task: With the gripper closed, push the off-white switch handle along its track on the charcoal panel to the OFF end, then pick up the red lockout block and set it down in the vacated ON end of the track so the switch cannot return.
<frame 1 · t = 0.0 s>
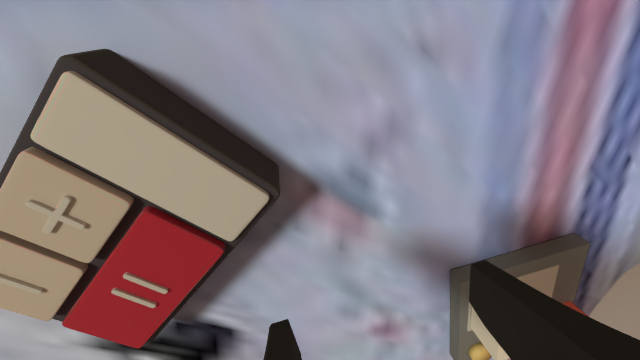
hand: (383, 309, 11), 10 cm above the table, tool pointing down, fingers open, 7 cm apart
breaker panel: (507, 297, 29), on the table
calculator: (139, 204, 19), on the table
switch handle: (495, 325, 25), point 3 cm above the table, slide at 0.0 cm
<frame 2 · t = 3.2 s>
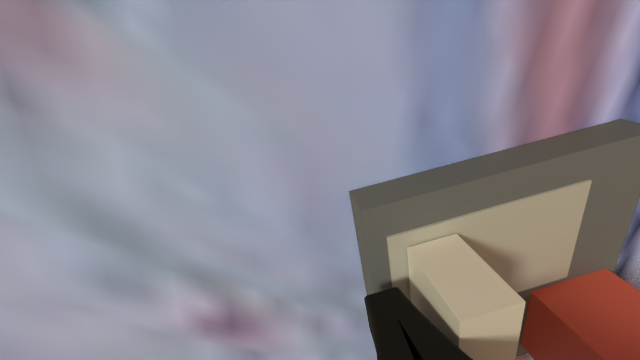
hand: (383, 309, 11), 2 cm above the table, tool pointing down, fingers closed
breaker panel: (481, 263, 15), on the table
lockout block: (561, 308, 15), point 1 cm above the table, touching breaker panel
switch handle: (456, 311, 11), point 3 cm above the table, slide at 0.5 cm, touching gripper
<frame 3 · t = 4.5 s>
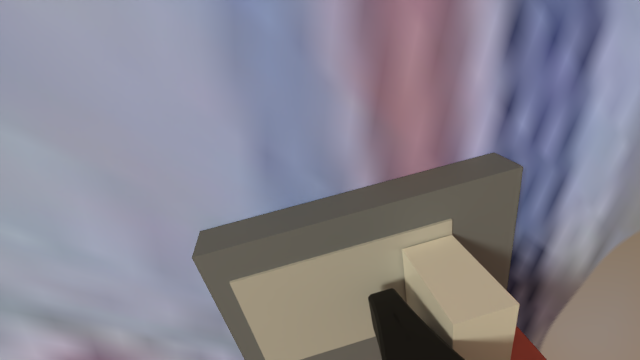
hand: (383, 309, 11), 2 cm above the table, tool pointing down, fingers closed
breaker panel: (370, 296, 14), on the table
lockout block: (455, 341, 15), point 1 cm above the table, touching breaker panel
switch handle: (451, 313, 11), point 3 cm above the table, slide at 6.1 cm, touching gripper
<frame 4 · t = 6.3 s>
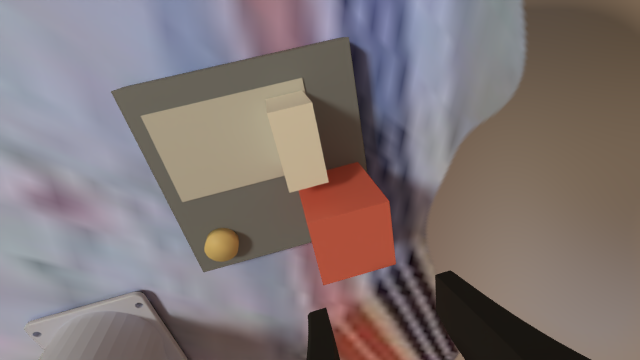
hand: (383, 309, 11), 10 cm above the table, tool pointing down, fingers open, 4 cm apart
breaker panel: (266, 160, 19), on the table
lockout block: (332, 197, 19), point 1 cm above the table, touching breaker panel
switch handle: (296, 139, 15), point 3 cm above the table, slide at 6.1 cm
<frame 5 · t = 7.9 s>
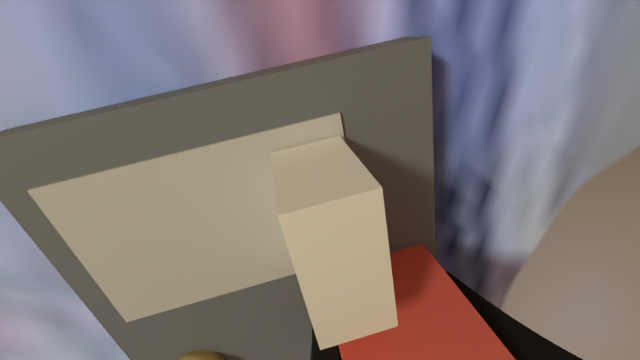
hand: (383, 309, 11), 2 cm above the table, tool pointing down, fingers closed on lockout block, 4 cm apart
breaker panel: (270, 238, 12), on the table
lockout block: (377, 295, 12), point 1 cm above the table, touching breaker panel, gripper
switch handle: (330, 234, 8), point 3 cm above the table, slide at 6.1 cm
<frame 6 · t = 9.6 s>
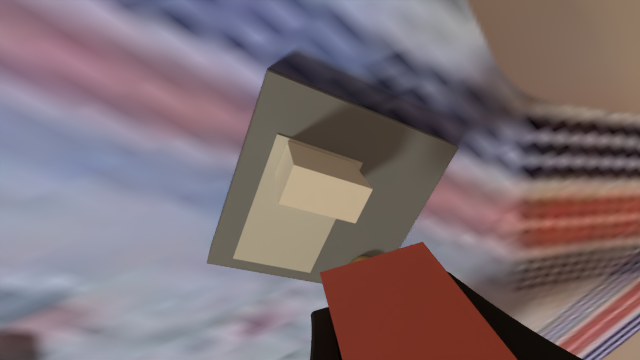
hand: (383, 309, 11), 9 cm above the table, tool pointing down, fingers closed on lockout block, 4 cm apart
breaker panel: (326, 194, 20), on the table
lockout block: (378, 294, 12), point 9 cm above the table, touching gripper
switch handle: (320, 180, 15), point 3 cm above the table, slide at 6.1 cm
when the fingers open (3 cm above the table, at t = 11.4 s): lockout block drops 1 cm, resting on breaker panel.
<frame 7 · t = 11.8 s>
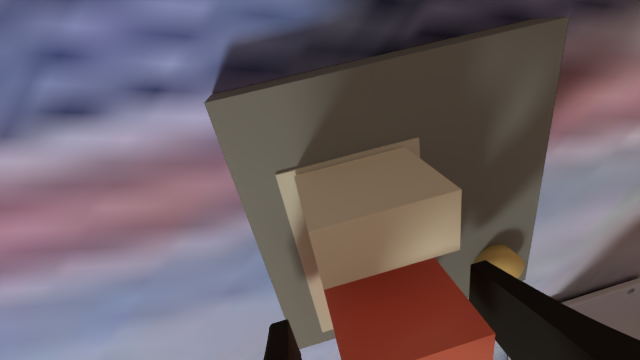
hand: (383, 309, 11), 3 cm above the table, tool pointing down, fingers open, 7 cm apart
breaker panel: (392, 197, 13), on the table
lockout block: (368, 274, 13), point 2 cm above the table, touching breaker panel
switch handle: (369, 209, 9), point 3 cm above the table, slide at 6.1 cm
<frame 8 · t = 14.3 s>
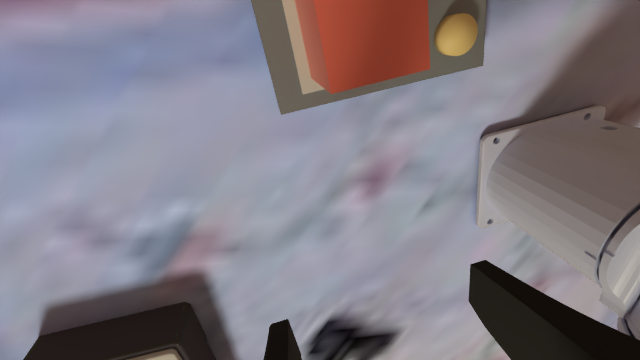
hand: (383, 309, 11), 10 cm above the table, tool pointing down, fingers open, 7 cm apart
lockout block: (341, 27, 15), point 2 cm above the table, touching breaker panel
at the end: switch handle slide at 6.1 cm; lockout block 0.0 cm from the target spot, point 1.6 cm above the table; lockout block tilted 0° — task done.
